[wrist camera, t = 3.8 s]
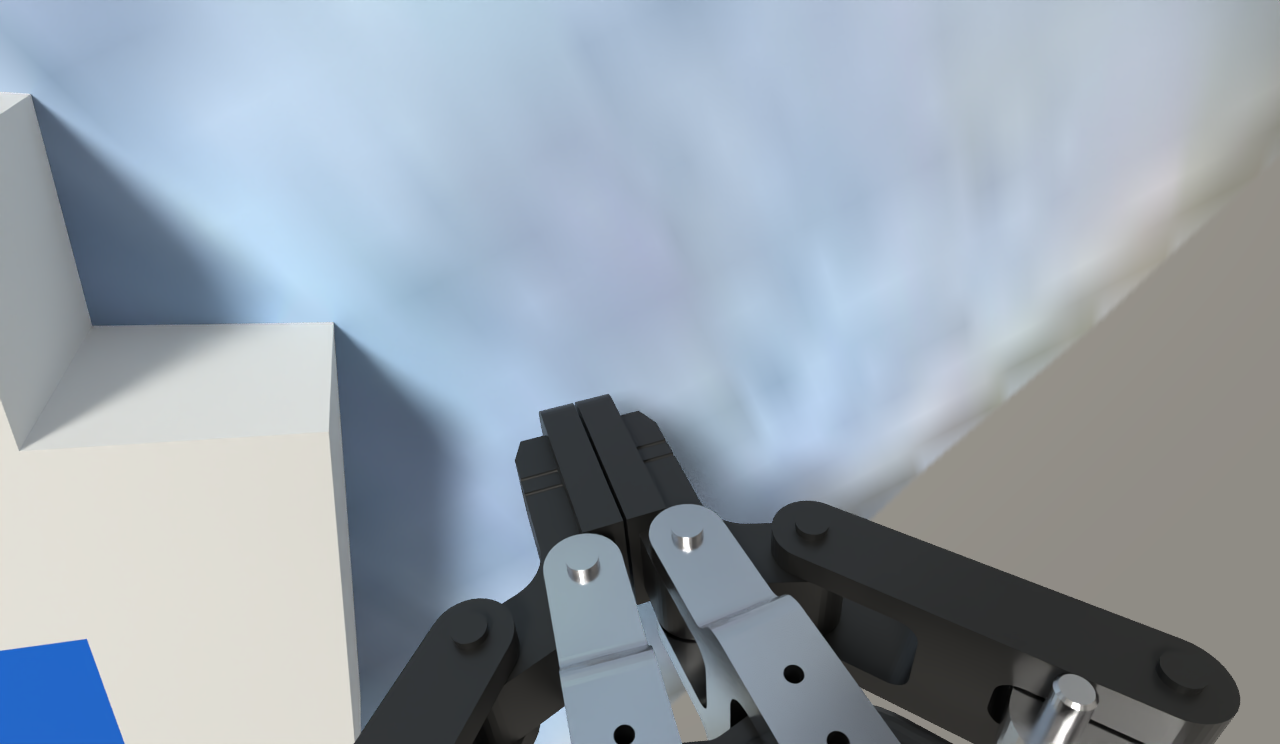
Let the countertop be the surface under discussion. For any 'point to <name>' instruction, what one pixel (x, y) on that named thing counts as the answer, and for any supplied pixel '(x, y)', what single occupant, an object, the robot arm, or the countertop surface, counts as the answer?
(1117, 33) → the countertop surface
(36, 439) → the pixel art tile
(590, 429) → the robot arm
